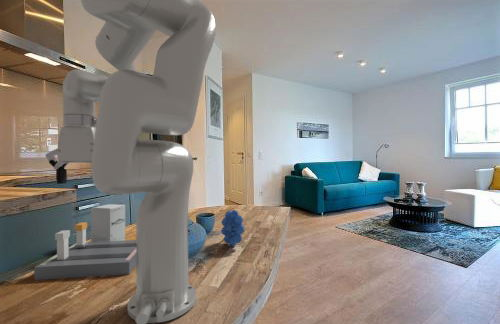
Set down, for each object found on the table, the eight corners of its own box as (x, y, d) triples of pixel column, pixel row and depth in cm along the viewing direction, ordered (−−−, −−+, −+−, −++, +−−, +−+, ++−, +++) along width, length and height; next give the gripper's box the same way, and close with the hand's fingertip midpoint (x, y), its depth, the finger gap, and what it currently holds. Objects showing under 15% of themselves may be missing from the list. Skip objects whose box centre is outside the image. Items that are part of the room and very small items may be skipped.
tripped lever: (83, 247, 68) (83, 224, 68) (73, 247, 68) (73, 225, 68) (88, 244, 71) (88, 222, 71) (79, 244, 70) (79, 222, 70)
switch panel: (129, 274, 59) (129, 234, 59) (34, 279, 56) (34, 238, 56) (148, 249, 76) (148, 217, 76) (76, 252, 73) (76, 220, 73)
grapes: (253, 248, 77) (253, 210, 76) (236, 253, 72) (236, 213, 72) (233, 238, 86) (233, 205, 86) (216, 242, 82) (216, 207, 81)
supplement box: (109, 247, 77) (109, 208, 77) (90, 246, 79) (89, 207, 79) (126, 240, 84) (125, 204, 84) (107, 239, 86) (107, 203, 86)
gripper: (117, 125, 74) (118, 181, 74) (55, 125, 72) (56, 182, 72) (106, 121, 66) (106, 183, 66) (36, 120, 64) (37, 185, 64)
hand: (80, 183), depth 69 cm, fingers open, 9 cm apart
